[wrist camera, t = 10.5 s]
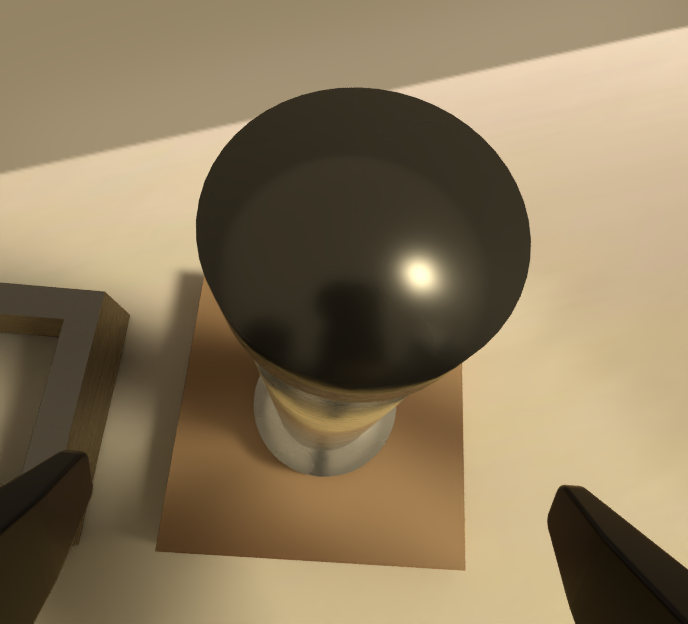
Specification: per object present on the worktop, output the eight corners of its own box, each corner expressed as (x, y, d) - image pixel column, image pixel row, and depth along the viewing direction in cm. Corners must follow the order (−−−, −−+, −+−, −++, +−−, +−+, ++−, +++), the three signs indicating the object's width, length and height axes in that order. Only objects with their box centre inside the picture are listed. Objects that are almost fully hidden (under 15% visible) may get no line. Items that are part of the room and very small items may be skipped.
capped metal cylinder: (353, 503, 16) (497, 576, 4) (230, 434, 17) (11, 304, 4) (413, 379, 18) (651, 151, 5) (299, 318, 18) (281, -16, 6)
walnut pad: (454, 564, 17) (465, 570, 16) (165, 546, 16) (155, 551, 15) (451, 298, 20) (460, 287, 19) (211, 277, 20) (206, 265, 19)
